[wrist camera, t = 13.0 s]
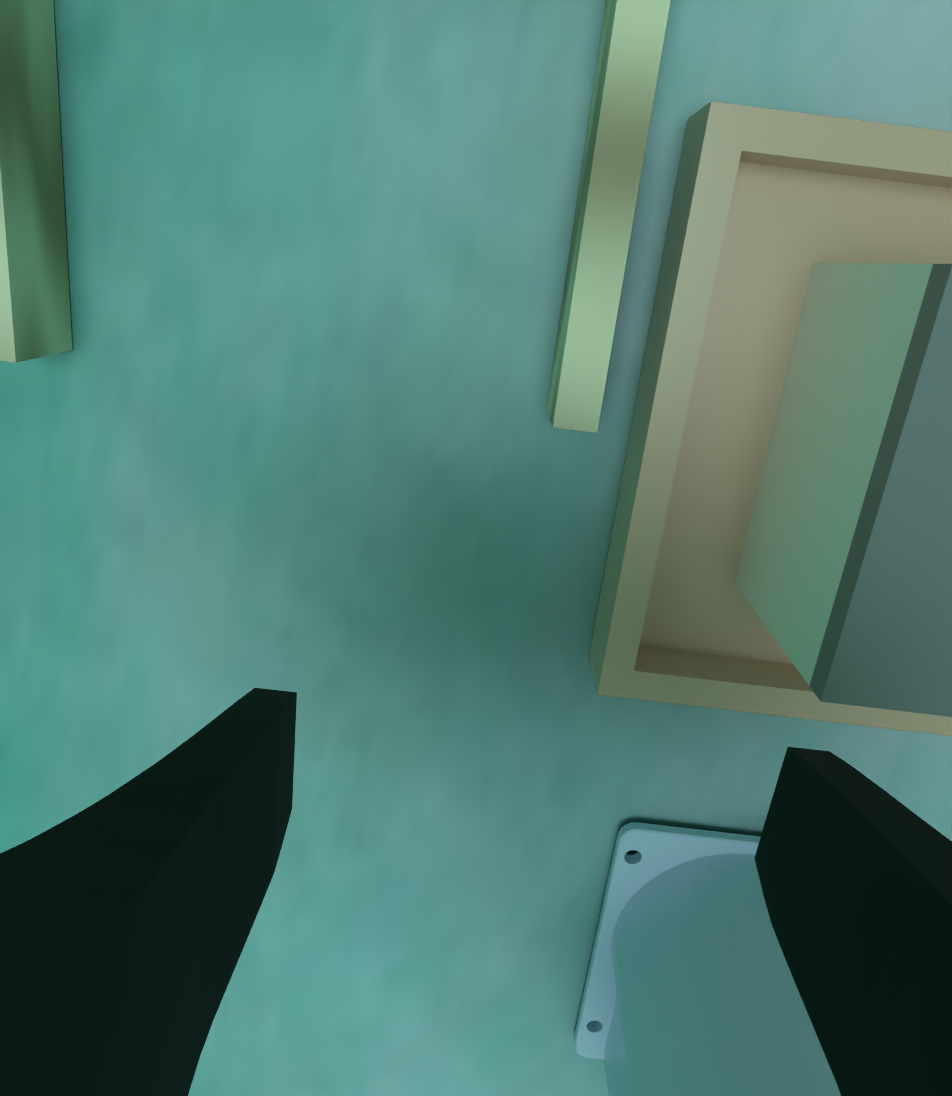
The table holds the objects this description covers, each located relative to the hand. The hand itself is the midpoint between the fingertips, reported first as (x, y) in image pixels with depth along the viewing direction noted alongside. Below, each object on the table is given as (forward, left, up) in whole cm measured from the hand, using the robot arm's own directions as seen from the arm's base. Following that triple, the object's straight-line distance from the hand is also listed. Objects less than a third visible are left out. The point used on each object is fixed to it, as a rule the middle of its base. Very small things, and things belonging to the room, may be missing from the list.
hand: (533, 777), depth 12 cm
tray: (+4, -8, -10) cm, 14 cm away
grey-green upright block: (+4, -8, -10) cm, 13 cm away
